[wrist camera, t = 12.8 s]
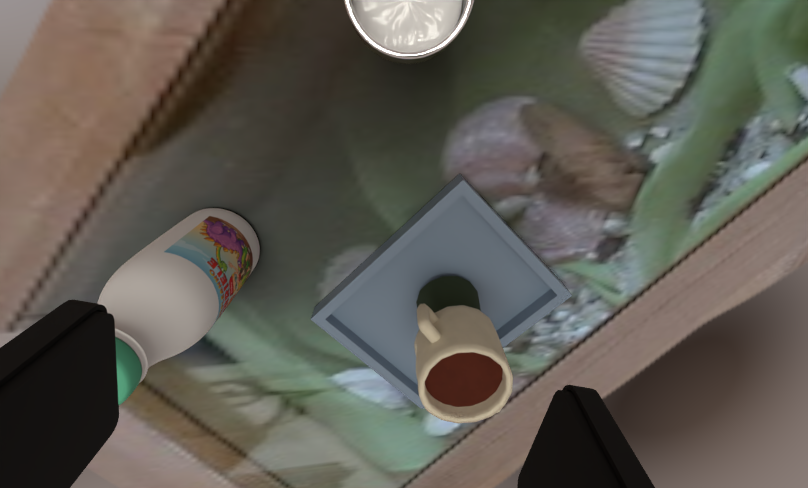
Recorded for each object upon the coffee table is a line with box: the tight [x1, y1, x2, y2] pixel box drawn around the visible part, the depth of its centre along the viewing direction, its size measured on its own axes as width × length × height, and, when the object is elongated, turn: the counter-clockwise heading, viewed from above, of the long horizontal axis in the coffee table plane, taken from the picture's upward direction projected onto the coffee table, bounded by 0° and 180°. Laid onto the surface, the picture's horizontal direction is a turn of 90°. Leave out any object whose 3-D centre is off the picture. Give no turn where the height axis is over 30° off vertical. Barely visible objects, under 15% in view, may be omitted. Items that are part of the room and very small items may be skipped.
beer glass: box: [344, 0, 474, 64], centre depth 28 cm, size 7×7×15 cm
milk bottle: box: [97, 208, 260, 405], centre depth 33 cm, size 8×8×20 cm
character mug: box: [414, 276, 513, 423], centre depth 38 cm, size 11×7×13 cm, turn 37°
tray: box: [311, 174, 572, 409], centre depth 44 cm, size 20×16×2 cm
